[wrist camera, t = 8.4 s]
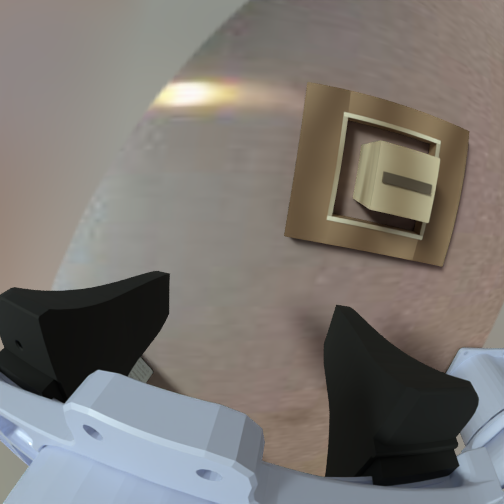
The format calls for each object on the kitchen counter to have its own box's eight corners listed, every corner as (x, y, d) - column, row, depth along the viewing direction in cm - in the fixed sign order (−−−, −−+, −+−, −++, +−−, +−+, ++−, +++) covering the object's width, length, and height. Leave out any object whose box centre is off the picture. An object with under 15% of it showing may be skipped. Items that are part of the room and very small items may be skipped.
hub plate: (461, 132, 16) (469, 131, 15) (436, 261, 20) (442, 267, 19) (307, 86, 18) (307, 81, 16) (284, 232, 21) (283, 236, 20)
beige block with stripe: (410, 158, 18) (441, 158, 13) (401, 209, 19) (429, 223, 15) (361, 145, 18) (382, 140, 14) (352, 198, 20) (370, 210, 15)
